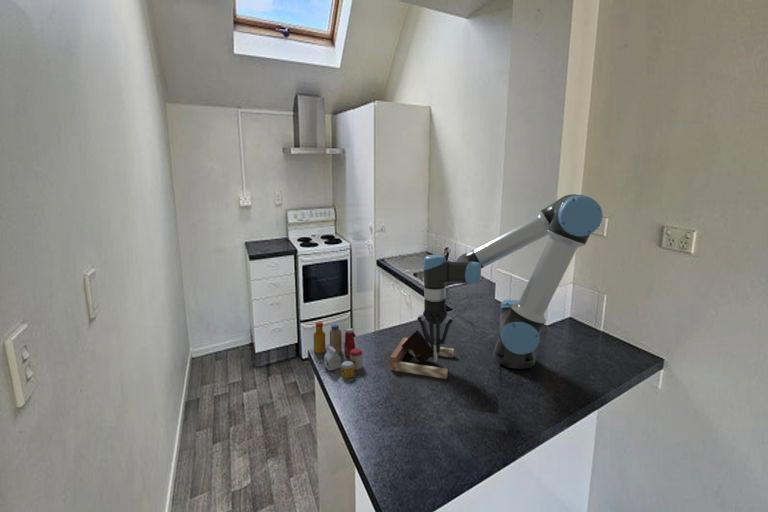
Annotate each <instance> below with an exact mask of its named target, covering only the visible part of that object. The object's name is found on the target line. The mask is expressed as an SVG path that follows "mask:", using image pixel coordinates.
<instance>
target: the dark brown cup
mask: <svg viewBox="0 0 768 512" xmlns="http://www.w3.org/2000/svg"><path fill="white" fill-rule="evenodd" d="M407 338H408V339H407V341H406V342H405V343H404V344H403V345H402V347H403V348H404V349H405V350H406V351H407V353H408V354H410V355H411V356H412V357H413V358H414V359H416V360H417V361H418V362H420V363H421V365H425V363H426V362H427V361H428V360H429V359H430V358H431V357H432V356H434V355H433V354H434V352H432V351H431V344H430V343H427V342H426V341H425V338H424V335H422V333H421V332H420V330H419V329H417V330H415V332H414V333H412V334H411V335H410V336H409V337H407Z"/></svg>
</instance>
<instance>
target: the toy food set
mask: <svg viewBox="0 0 768 512" xmlns="http://www.w3.org/2000/svg"><path fill="white" fill-rule="evenodd" d="M323 327H324V323H323V322H321V321H316V322H315V332H314V333H313V352H314V353H317V354H322V353H324V352H326V332H325V331H323ZM354 336H355V335H354V328H351V327H348V328H346V329H345V333H344V355H345V356H346V357H348V359H349V360H347V361H346V360H345V361H343V362H342V361H341V360H342V359H341V358H342V357H341V356H340V355H339V354H341V353H342V350H343V349H342V348H343V346H342V343H343V342H342V330H341V328H339V324H332V325H331V329H330V330H329V346H328V350H327V352H326V353H325V354H324V356H323V357H324V358H323V359H324V367H325V368H326V369H327V370H328V371H329V372H330V371H334V370H338V369H341V370H340V372H341V374H340V376H341V377H343V378H344V379H345V378H346V379H349V378H350V379H351V378H353V377H354V376H355V370H360V369H361V370H362V368H363V366H364V365H363V364H364V363H363V359H364V358H363V350H362V349H361V348H356V345H355V337H354Z"/></svg>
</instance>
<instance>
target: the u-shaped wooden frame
mask: <svg viewBox="0 0 768 512" xmlns="http://www.w3.org/2000/svg"><path fill="white" fill-rule="evenodd" d="M408 338H409V337H402V339H401V340H400V342H399V343H398V344H397V346H396V348H395V349H394V351H393V352H392V354H391V356H390V365H389V366H390V371H395V372H400V373H401V372H402V373H407V374H408V373H409V374H414V375H420V376H427V377H433V378H439V379H447V378H448V368H445V367H438V366H432V365H425V364H419V363H414V362H413V363H412V362H407V361H403V359H404V357H405V356H406V354H407V353H408V351H406V350H405V349H404V348H403V347H402V345H403V344H404V343H405V342H406V341H407V339H408ZM454 353H455V348H452V347H451V348H450V347H444V346H440V352H439V353H437V357H438V356H439V357H444V358H445V357H446V358H454ZM432 356H434V354H433V355H432Z"/></svg>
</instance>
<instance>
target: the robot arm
mask: <svg viewBox="0 0 768 512" xmlns="http://www.w3.org/2000/svg"><path fill="white" fill-rule="evenodd" d="M602 221H603V209H602V208H601V206H600V204H599V202H597V200H595V199H593V197H590V196H588V195H584V194H567V195H564V196H562V197H560V198H559V199H556V201H554V202H552V203H551V204H550V205H548V206H547V207H544V208H543V209H541V210H540V211H538V215H536V216H534V217H532V218H530V219H528V220H526V221H525V222H523V223H521V224H519V225H517V226H515V227H513V228H512V229H510V230H508V231H506V232H504V233H502V234H500V235H498V236H497V237H495V238H493V239H492V240H489V241H487V242H486V243H483V244H482V245H480V246H477V247H476V248H474V249H472V250H470V251H469V252H466V253H463V254H461V255H460V256H458V258H457V259H456V261H448V260H446V256H445V255H444V254H429V255H426V256H425V257H424V260H423V283H424V284H423V290H424V291H423V292H424V293H423V295H424V296H423V297H424V300H423V302H424V303H423V304H424V306H423V308H424V309H423V310H424V311H423V312H422V314H419V315H418V317H417V321H418V323H420V327H421V330H422V334H423V337H424V338H425V341H426V342H427V343H428V344H429V345H430V346H431V351H432V352H434V355H433V363H437V360H438V355H437V353H439V352H440V347H441V345H443V344H445V342H446V338H447V336H448V333H449V329H450V325H451V324H452V323H453V321H454V317H452V316H449V315H448V313H447V309H446V308H447V307H446V303H447V302H446V297H447V295H446V294H447V293H446V291H447V290H446V284H463V285H479V284H480V283H481V281H482V279H481V278H482V272H481V271H482V269H484V268H486V267H488V266H489V265H491V264H493V263H495V262H497V261H499V260H501V259H503V258H504V257H507V256H509V255H510V254H513V253H514V252H515V253H516V252H517V251H518V250H521V249H523V248H524V247H527V246H529V245H530V244H532V243H534V242H536V241H539V240H541V239H542V238H544V237H546V236H548V237H549V238H548V240H547V242H546V244H545V246H544V249H543V250H542V251H541V255H540V256H539V258H538V261H537V263H536V264H535V266H534V269H533V271H532V274H531V275H530V278H529V279H528V282H527V283H526V286H525V288H524V290H523V292H522V294H521V296H520V298H519V299H506V300H504V299H503V301H501V303H500V313H499V314H500V317H499V332H498V333H499V334H498V339H497V341H496V344H495V346H494V349H493V351H492V357H493V360H494V361H495V362H497V363H498V364H499V365H501V366H503V367H506V368H511V369H516V370H525V369H529V368H530V369H531V368H533V366H535V364H536V354H535V350H536V349H537V348H538V346H539V345H540V344H539V343H540V340H541V339H540V338H541V337H540V334H541V332H542V330H543V328H544V327H545V324H546V322H547V319H546V318H545V313H546V311H547V309H548V307H549V305H550V303H551V301H552V300H553V298H554V295H555V293H556V291H557V289H558V287H559V285H560V283H561V281H562V279H563V277H564V275H565V273H566V271H567V269H568V267H569V265H570V263H571V261H572V260H573V258H574V255H575V253H576V251H577V250H578V249H579V248H581V247H583V246H586V243H587V242H588V240H589V238H590V236H591V234H593V233H595V232H596V231H597V229H598V228H599V227H600V226H601V224H602ZM425 319H426V321H427V322H428V324H429V325H428V326H429V330H428V327H427V324H426V321H425ZM444 320H445V323H446V324H445V327H444V330H443V334H442V336H441V329H442V328H441V325H442V323H443V322H444Z"/></svg>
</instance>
